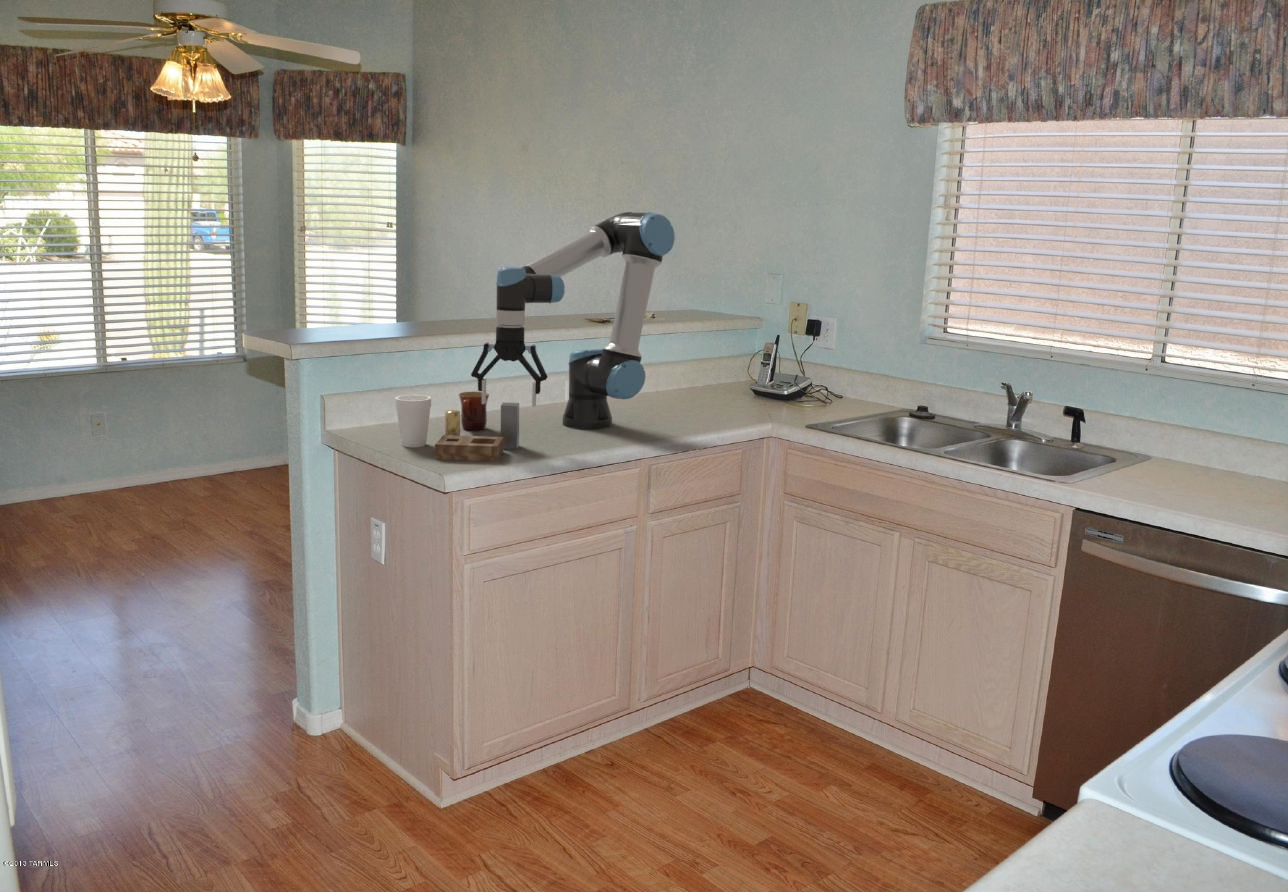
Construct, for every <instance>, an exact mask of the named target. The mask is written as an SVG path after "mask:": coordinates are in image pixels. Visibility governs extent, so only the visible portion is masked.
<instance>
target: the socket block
mask: <svg viewBox="0 0 1288 892" xmlns="http://www.w3.org/2000/svg"><path fill="white" fill-rule="evenodd" d="M503 453H504V449H503V437H501V436H479V435H477V436H476V435H475V436H474V435H460V436H455V435H445V434H443V435H442V436H441V438H439V439H438V441H436V442H435V443H434V459H435V460H440V461H441V460H442V461H446V460H447V461H448V460H449V461H467V462H468V461H471V462H498V461H499V460H500V458H501V457H502V454H503Z"/></svg>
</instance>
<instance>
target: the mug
mask: <svg viewBox="0 0 1288 892" xmlns="http://www.w3.org/2000/svg"><path fill="white" fill-rule="evenodd" d="M489 396H490V393H488V392H486V403H485V404H482V391H464V392H460V393H459V394H458V397H459V400H460V405H461V406H460V407H461V411H460V424H461V427H462V428H463V430H466V431H481V430H484V429H485V428H486V427H487V421H488V420H487V419H488V417H487V416H488V415H487V414H488V412H487V411H488V410H487V404H488V399H489Z"/></svg>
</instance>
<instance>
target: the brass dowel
mask: <svg viewBox="0 0 1288 892" xmlns="http://www.w3.org/2000/svg"><path fill="white" fill-rule="evenodd" d="M444 423H445V425H444V426H445V427H444V428H445V431H444V432H445V434H444V435H455V436H461V411H460V410H457V409H456V410H455V409H448V410H445V412H444Z"/></svg>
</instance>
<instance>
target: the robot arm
mask: <svg viewBox="0 0 1288 892" xmlns="http://www.w3.org/2000/svg"><path fill="white" fill-rule="evenodd" d="M675 235H676V234H675V230H674V227H673V225H672V223H671V221H670V220H669V219H668V218H667V217H666V216H665V215H663V214H660V213H656V212H655V213H654V212H650V211H649V212H632V211H631V212H629V211H626V212H621V213H618V214H615V215H612V216H611V217H608V218H606V219H605V220H603V221H601V222H598V223H597V224H594V225H593V226H592V227H590V228H589V229H588V232H587V233H584V234H583V235H581V236H580V237H578V238H576V239H574V240H572V241H570V242H568V243H566V244H564V245H562V246H560V247H558V248H557V249H555V250H553V251H551V252H549V253H546V254H545V255H543V256H541V257H539V258H537V259H536V260H533V261H531V262H530V263H528V264H526V265H524V266H521V267H519V266H518V267H516V266H515V267H514V266H501V267H499V268H498V269H497V274H496V283H495V285H496V311H495V313H496V315H495V316H496V317H495V321H496V322H495V323H496V325H497V326H496V329H495V343H489V342H485V343H484V344H483V348H482V352H481V355H480V357H479V358H478V360H477V362H476V364H475V366H474V368H473V370H472V372H471V374H470V376H471V377H472V378H475V379H477V392H482V404H485V403H486V393H487V378H484V377H485V376H487V374H488V373H489V372H490V370H492V369H493V367H495V366H496V365H497V363H498V362H499V361H500V360H502V361H503V362H508V361H511V362H516V361H519V362H520V364H521V365H522V366H523V367H524V369H525V370H526V371H527V372H528V375H530V376H531V377H532V379H533V381H532V388H531V389H532V391H531V392H532V393H531V394H532V395H531V397H532V398H531V399H532V401H531V407H536V406H537V395H539V394H540V393H541V384H542V383H541V382H543V381H546V380H547V378H548V374H547V372H546V370H545V368H544V366H543V364H542V362H541V359H540V357H539V355H538V353H537V345H536V344H532V345H526V344H525V327H524V326H525V324H526V323H525V322H526V321H525V319H526V318H525V317H526V314H525V313H526V304H553V303H559V302H561V300H563V298H564V296H565V292H566V291H565V287H566V286H565V283H564V281H563V279H562V277H564V276H566V275H567V274H569V273H571V272H573V271H574V270H575V271H576V270H577V269H579V268H580V267H582V266H585V265H586V264H588V263H590V262H592V261H594V260H595V259H598V258H599V257H602V258H606V257H609V256H610V255H613V254H617V253H622V255H621V256H622V258H623V259H624V261H625V266H624V270H623V274H622V275H623V277H622V280H621V285H620V290H619V295H618V298H617V299H618V300H617V303H616V305H617V306H616V310H615V315H614V317H613V318H614V319H613V324H612V328H611V332H610V333H611V334H610V338H609V341H608V344H606V345H605V346H604V347H602V348H591V349H589V348H588V349H575V350H573V351H571V352H570V354H569V360H568V400H567V403H566V406H565V408H564V409H565V410H564V412H563V413H562V414H563V415H562V425H563V426H565V427H568V428H572V429H582V430H599V429H606V428H610V427H612V425H613V416H612V413H611V409H610V406H609V403H608V397H609V398H613V399H617V400H618V399H619V400H629V399H632V398H634V397H635V396H636V395H638V394H639V393H640V392H641V390H642V389H643V387H644V385H645V382H646V371H645V370H644V369H645V368H644V365H643V364H642V363H641V362H642V354H641V353H640V351H639V346H640V341H641V338H642V337H641V336H642V333H643V332H642V331H643V328H644V327H643V326H644V322H645V318H646V313H647V307H648V303H649V299H650V293H651V288H652V283H653V279H654V274H655V272H656V271H655V270H656V269H657V267H660V265H662V262H663V258H664V256H665V255H668V254H669V252H670V251H671V250H672V249H673V247H674V244H675V238H676V237H675ZM493 349H494V351H495V352H496V354H497V355H495V357H494V358H493V359H492V360H491V362H489V363H488V365H487V366H486V367H485V368H484V369H483V370H482V371H481V373H480V372H479V371H480V369H481V368H482V366H483V364H484V362H485V360H486V358H487V356H488V354H489V353H490V352H491V351H492V350H493ZM526 351H527V352H528V354H530V355H531V358H532V360H533V362H534V364H535V367H536V368H537V371H538V373H539V374H538V373H537V371H536V370H535V368H533V366H532V365H531V364H530V362H528V360H527V358H526V357H525V356H524V353H525V352H526Z"/></svg>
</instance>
